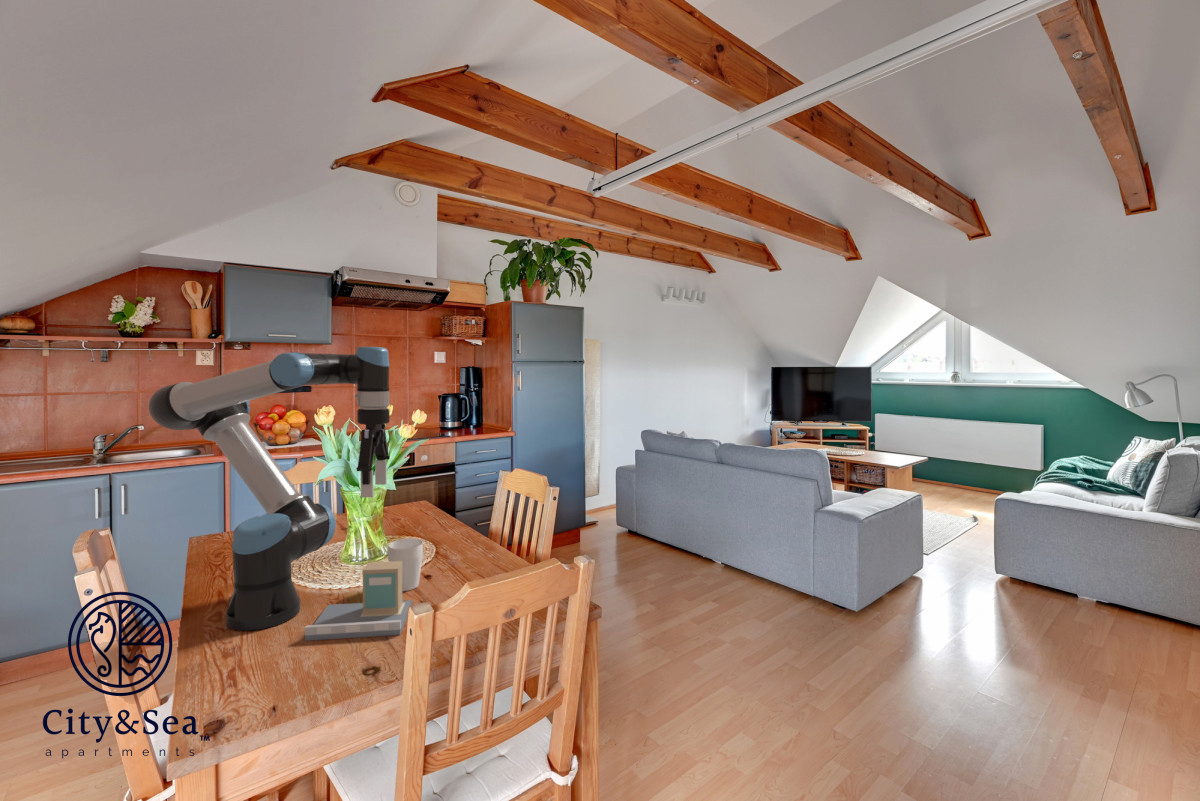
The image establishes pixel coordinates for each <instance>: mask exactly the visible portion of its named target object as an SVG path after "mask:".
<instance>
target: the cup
mask: <svg viewBox="0 0 1200 801" xmlns="http://www.w3.org/2000/svg"><path fill="white" fill-rule="evenodd" d="M423 548H424V546H423V541H422V540H420V539H417V538H402V539H397V540H394V541H391V542H390V543H389V544H388V551H387V553H388V554H387V558H388V562H389V561H402V592H408V591H412V590H414V589H416V588H418V587H419V585H420V578H421V570H422V564H423V556H424V549H423Z"/></svg>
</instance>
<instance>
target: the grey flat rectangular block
mask: <svg viewBox="0 0 1200 801" xmlns="http://www.w3.org/2000/svg"><path fill="white" fill-rule="evenodd" d="M402 601H403V604H402V606H401V608H400V611H399V613H393V614H376V615H363V602H353V603H337V604H334V603H333V604H328V605H327V606H326V607H325V609H324V610H323V611H322V612H321V614H320V615H319V616H318V618H317V619H316V620H315V622H314V623H313V624H310V625H308V624H307V625H306V626H304V641H305V642H306V641H307V642H308V641H320V640H322V641H323V640H340V639H351V638H352V639H353V638H355V639H356V638H369V637H385V636H386V637H388V636H399V635H398V634H400V635H401V633H402V631H403V629H404V628H405V624H406V622H407V620H408V617H407V612H408V608H409V607H410V606H411V605H412V604H414V603H412V602H413V599H412V600H402ZM412 606H413V605H412ZM406 619H407V620H406Z"/></svg>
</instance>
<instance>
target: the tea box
mask: <svg viewBox="0 0 1200 801" xmlns="http://www.w3.org/2000/svg"><path fill="white" fill-rule="evenodd" d="M403 601H404V600H403V591H402V561H389V560H388V561H374V562H373V561H369V562H367V563H366V564H365V566H364V568H363V569H362V603H363V615H376V614H393V613H399V611H400V608H401V606H402V604H403Z"/></svg>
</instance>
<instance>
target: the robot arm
mask: <svg viewBox="0 0 1200 801" xmlns="http://www.w3.org/2000/svg"><path fill="white" fill-rule="evenodd" d="M389 356H390V355H389V350H388V348H386V347H382V346H381V347H380V346H358V347H357V348H356V352H355V354H345V353H344V354H343V353H340V354H339V353H314V352H313V353H311V352H309V353H307V352H296V351H292V352H283V353H280V354H277V355H276V356H275V358H274V359H272V360H269V361H266V362H263V363H259V364H256V365H253V366H248V367H245V368H242V369H238V370H236V371H232V372H228V373H225V374H221V375H217V376H214V377H210V378H208V379H207V378H206V379H204V380H200V381H197V382H190V381H182V382H179V383H174V384H170V385H167V386H163V387H161V388H159V389H157V390H156V391H155V392H154V393H153V394H152V395H151V397H150V399H149V402H148V412H149V414H150V416H151V418H152V420H153V421H154V422H156V423H157V424H158V425H160V426H161V427H163V428H166V429H170V430H175V431H184V430H185V431H186V430H195V429H196V430H198V432H199V433H200V435H201V436H202V438H204V440H205V441H210V442H215V444H216V446H218V448H219V449H220V450H221V452H222V453H223V455H224V456H225V458H226V459H227V460H228V462H229V463H230V464H231V465H232V467H233V469H234V470H235V472H236V473H237V474H238V475H239V477H240V478H241V479H242V481H243V483H244V484H245V485H246V486H247V488H248V489H249V490H250V492H251V494H252V495H253V496H254V497H255V499H256V500H257V501H258V503H259V504H260V506H261V507H262V508H263V510H264V511H265V512H266V513H265V514H263V515H257V516H254V517H251V518H248V519H246V520H244V521H242V522H241V523H239V524H238V525H237V526H236V527H235V529H234V530H233V532H232V541H231V542H232V544H231V548H232V561H233V562H232V563H233V564H232V565H233V566H232V567H233V585H234V586H233V587H234V588H233V592H232V595H231V599H230V601H229V604H228V607H227V610H226V614H225V625H226V626H227V628H229V629H231V630H235V631H241V632H242V631H246V632H247V631H257V630H262V629H268V628H271V627H275V626H277V625H280V624H284V623H285V622H287V621H289V620H291V619H293V618H294V617H296V616H297V615H298V614H299V613H300V611H301V599H300V596H299V594H298V591H297V588H296V586H295V584H294V582H293V578H292V562H294V561H296V560H298V559H300V558H302V557H305V556H306V555H308V554H310V553H313V552H316V551H318V550H319V549H321V548H322V547H324V546H325V545H327V544H328V543H329V542H330V541H331V540H332V539H333V537H334V534H335V532H336V526H337V523H336V522H337V521H336V517H335V514H334V513H333V511H332V509H331V508H330V507H329V506H327V505H326V504H322V503H315V502H314V501H313V500H312V498H311V497H310V496H309V494H304V493H299V492H298V490H297V489H296V487H295V486H294V485H293V483H292V482H291V480H290V479H289V478H288V476H287V475H286V474H285V472H284V471H283V469H282V468H281V466H279V464H278V463H277V461H276V460H275V459H274V457H273V456H272V455H271V453H270V452H269V450H268V448H266V446H265V445H264V443H263V442H262V440H261V439H260V438H259V436H257V434H256V432H254V429H252V427H251V426H250V422H251V415H250V414H249V413H250V411H251V407H250V406H249V405H250V404H251V402H250V401H252V400H253V401H254V400H257V399H261V398H263V397H267V396H271V395H275V394H278V393H281V392H284V391H285V392H286V391H290V390H293V389H296V388H300V387H304V386H313V385H314V386H315V385H316V386H319V385H335V384H336V385H337V384H342V385H343V384H344V385H345V384H348V385H356V390H357V391H356V392H357V393H356V394H355V395H354V397H355V399H357V400H356V401H357V403H356V404H357V407H359V408H358V409H357V410H356V411H357V412H356V413H357V416H356V418H357V420H356V421H357V423H358V425H359V424H360V425H365V429H362V430H361V431H360V435H361V436H360V437H361V438H360V446H359V455H358V462H357V467H356V472H360V498H374V483H375V485H376V486H377V485H379V486H380V485H382V486H383V485H387V484H388V483H387V480H388V479H387V474H388V473H387V472H388V471H387V460H390V455H389V449H388V440H387V434H386V424H388V423H389V422H390V416H391V415H390V409H389V408H388V407H390V405H391V404H390V381H389V380H390V366H391V364H390V359H389ZM375 459H376V460H375ZM373 464H374V470H373ZM374 474H375V475H374ZM374 476H375V477H374ZM374 478H375V480H374ZM374 481H375V482H374Z"/></svg>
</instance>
